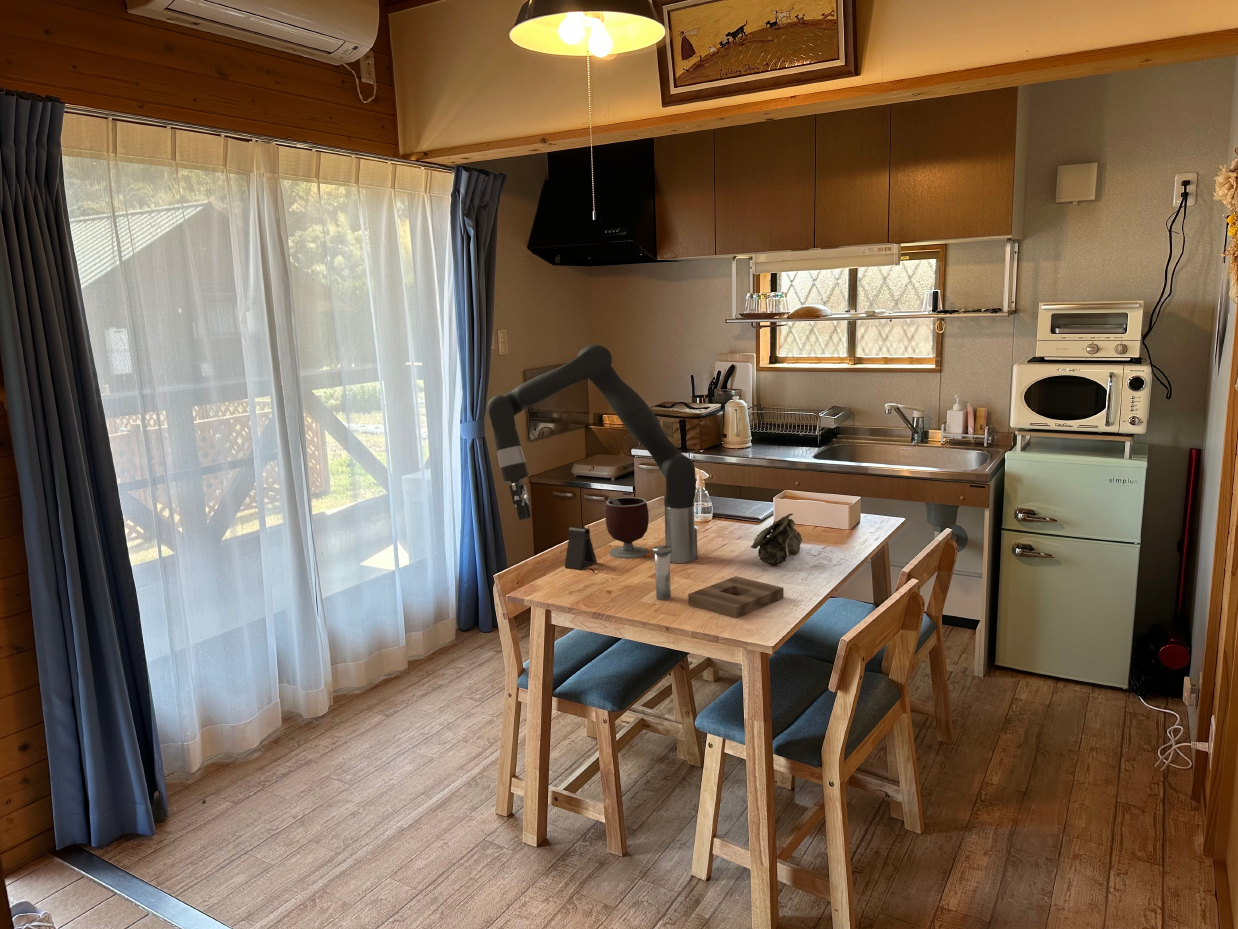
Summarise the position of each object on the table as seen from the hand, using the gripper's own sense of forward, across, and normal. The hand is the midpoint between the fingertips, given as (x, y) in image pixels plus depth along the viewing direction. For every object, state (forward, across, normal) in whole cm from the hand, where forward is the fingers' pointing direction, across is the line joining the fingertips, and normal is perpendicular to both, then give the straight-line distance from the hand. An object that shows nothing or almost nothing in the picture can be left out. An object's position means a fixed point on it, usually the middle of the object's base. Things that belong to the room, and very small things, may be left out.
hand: (525, 518), depth 247 cm
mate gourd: (+19, +32, -24) cm, 44 cm away
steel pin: (+30, -11, -34) cm, 46 cm away
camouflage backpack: (+30, +23, -69) cm, 79 cm away
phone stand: (+18, +21, -10) cm, 29 cm away
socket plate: (+35, -16, -52) cm, 65 cm away
